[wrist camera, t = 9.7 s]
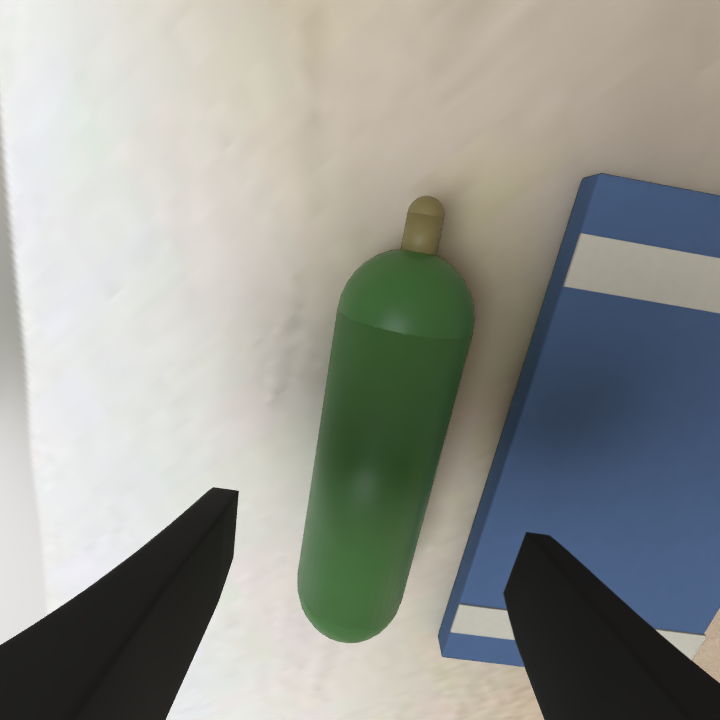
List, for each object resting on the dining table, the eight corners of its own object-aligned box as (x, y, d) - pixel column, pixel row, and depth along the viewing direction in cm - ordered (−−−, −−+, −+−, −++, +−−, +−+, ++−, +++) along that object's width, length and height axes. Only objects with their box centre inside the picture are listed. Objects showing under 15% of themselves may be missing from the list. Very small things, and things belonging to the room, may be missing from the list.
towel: (902, 237, 13) (951, 238, 11) (657, 662, 19) (674, 687, 18) (581, 177, 12) (602, 171, 11) (437, 635, 18) (441, 659, 17)
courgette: (385, 575, 17) (401, 672, 13) (295, 570, 17) (286, 670, 13) (472, 213, 12) (536, 205, 9) (351, 189, 12) (363, 170, 8)
